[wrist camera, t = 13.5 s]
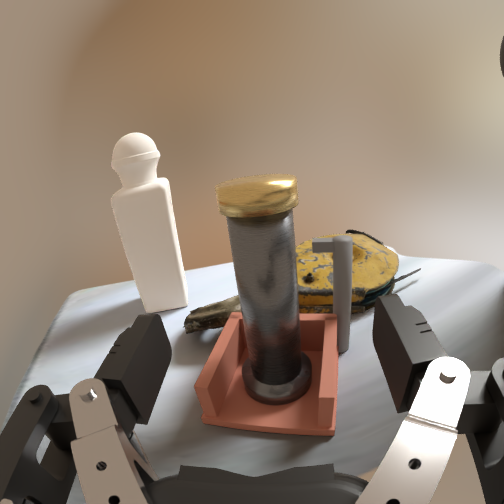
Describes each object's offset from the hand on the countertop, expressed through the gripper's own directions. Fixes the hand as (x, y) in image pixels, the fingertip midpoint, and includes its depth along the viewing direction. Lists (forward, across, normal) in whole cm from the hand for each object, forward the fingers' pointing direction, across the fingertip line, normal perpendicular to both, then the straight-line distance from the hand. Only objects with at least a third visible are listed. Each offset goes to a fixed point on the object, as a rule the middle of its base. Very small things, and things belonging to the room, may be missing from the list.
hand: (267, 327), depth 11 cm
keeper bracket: (+9, +1, +13) cm, 16 cm away
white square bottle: (+25, +15, +14) cm, 32 cm away
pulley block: (+23, -3, +14) cm, 27 cm away
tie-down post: (+9, +1, +12) cm, 15 cm away
